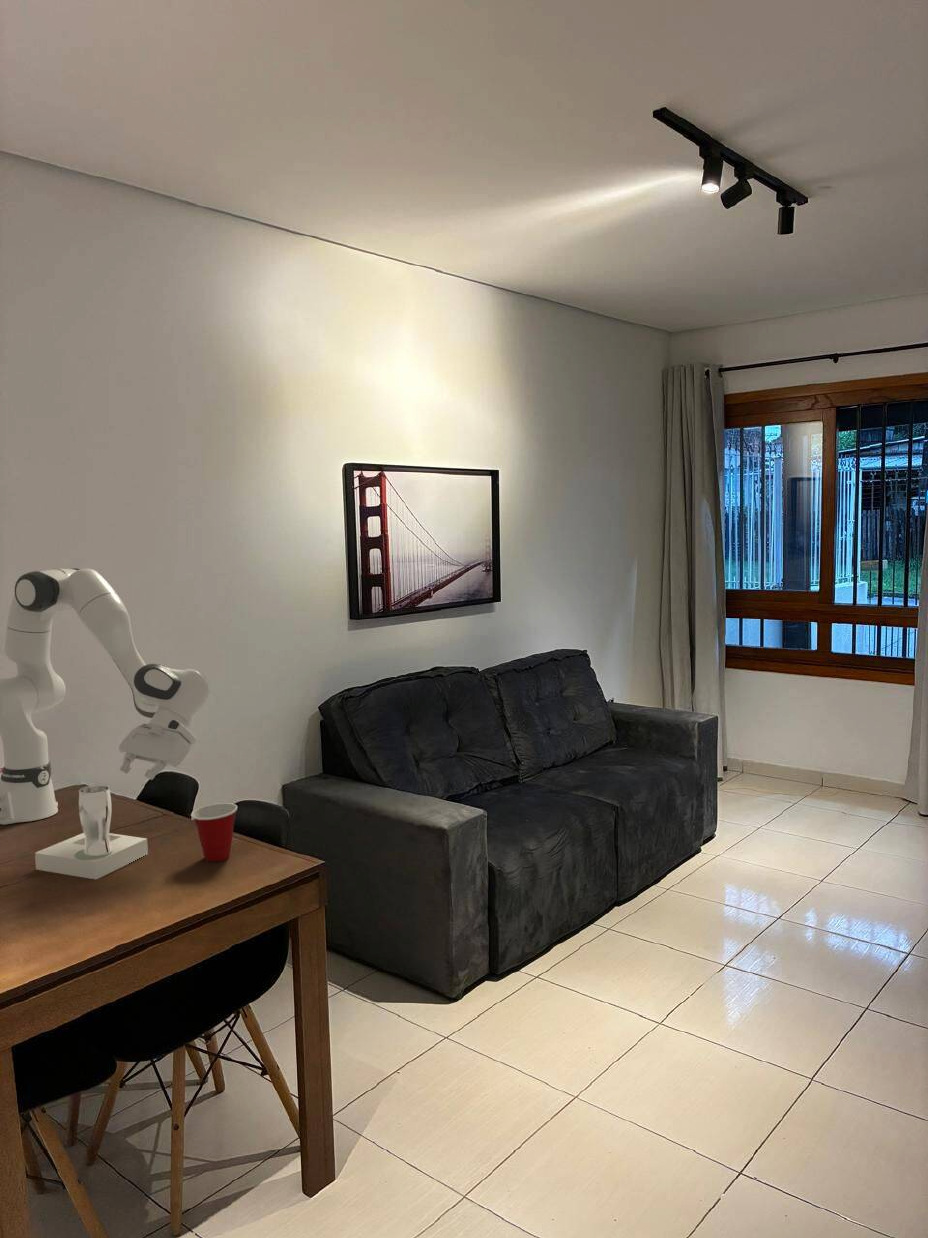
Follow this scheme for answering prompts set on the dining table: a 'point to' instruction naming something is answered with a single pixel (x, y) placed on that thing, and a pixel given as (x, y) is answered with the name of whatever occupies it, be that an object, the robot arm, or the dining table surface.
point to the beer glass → (95, 819)
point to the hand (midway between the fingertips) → (135, 775)
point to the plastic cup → (215, 829)
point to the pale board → (74, 862)
